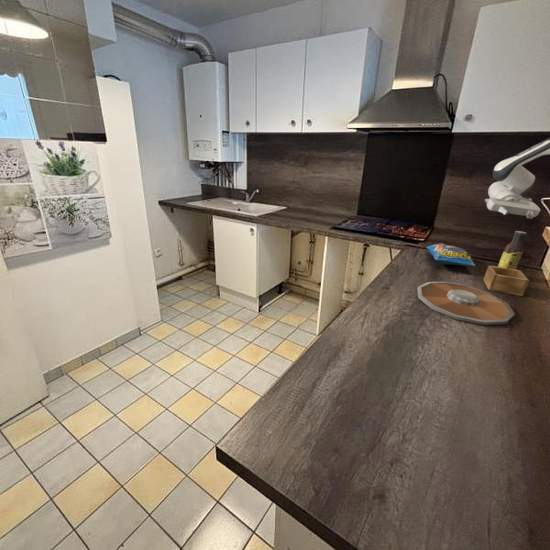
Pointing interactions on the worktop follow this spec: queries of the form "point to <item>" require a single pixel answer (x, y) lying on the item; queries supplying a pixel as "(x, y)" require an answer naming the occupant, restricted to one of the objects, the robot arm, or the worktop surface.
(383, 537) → the worktop surface
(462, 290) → the shield
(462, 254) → the packet
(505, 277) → the open wooden box
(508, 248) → the sauce bottle
